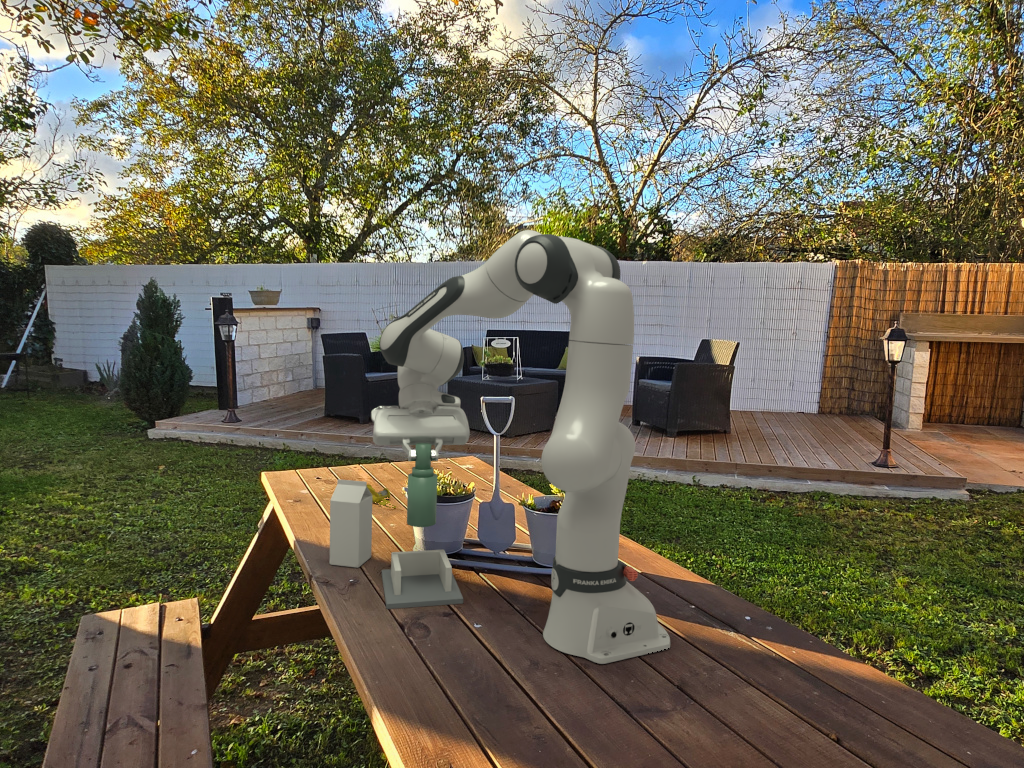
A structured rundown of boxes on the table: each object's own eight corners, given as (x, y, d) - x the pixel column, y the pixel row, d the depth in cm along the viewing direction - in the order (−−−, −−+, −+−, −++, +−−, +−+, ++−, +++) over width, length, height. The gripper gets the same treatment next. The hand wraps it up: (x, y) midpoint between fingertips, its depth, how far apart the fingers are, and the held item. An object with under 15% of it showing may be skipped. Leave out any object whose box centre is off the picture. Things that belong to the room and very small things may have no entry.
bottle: (433, 517, 136) (436, 441, 135) (437, 526, 131) (440, 446, 129) (405, 518, 135) (407, 441, 133) (408, 527, 129) (410, 447, 128)
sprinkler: (333, 487, 198) (376, 479, 208) (333, 499, 199) (375, 491, 209) (366, 509, 184) (409, 500, 194) (365, 522, 185) (408, 512, 195)
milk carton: (358, 568, 143) (359, 485, 142) (329, 565, 145) (330, 482, 143) (371, 557, 150) (372, 478, 149) (343, 554, 152) (344, 476, 150)
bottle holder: (449, 570, 144) (449, 544, 144) (463, 603, 127) (464, 574, 127) (381, 574, 141) (382, 547, 140) (386, 609, 123) (387, 578, 123)
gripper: (371, 396, 135) (372, 451, 126) (467, 397, 140) (474, 450, 131) (370, 415, 139) (371, 468, 131) (462, 415, 144) (469, 467, 136)
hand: (423, 459), depth 131 cm, fingers closed on bottle, 3 cm apart
